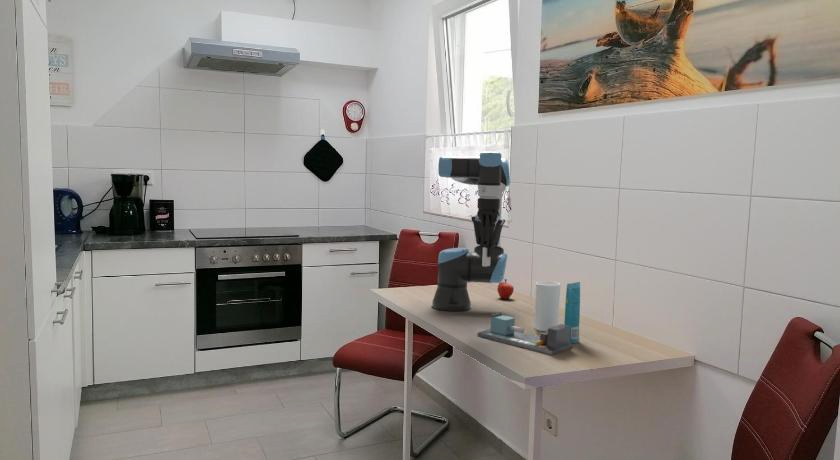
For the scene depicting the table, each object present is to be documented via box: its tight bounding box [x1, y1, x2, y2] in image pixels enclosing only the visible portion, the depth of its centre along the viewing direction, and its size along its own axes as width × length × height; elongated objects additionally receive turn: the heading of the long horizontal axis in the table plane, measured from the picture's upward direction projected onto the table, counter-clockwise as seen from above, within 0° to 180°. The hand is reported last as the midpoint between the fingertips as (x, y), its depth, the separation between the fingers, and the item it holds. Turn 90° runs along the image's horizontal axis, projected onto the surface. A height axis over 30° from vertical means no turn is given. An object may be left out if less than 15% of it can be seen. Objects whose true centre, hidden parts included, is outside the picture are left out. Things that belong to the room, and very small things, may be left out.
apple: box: [496, 278, 515, 300], centre depth 263 cm, size 8×7×10 cm
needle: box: [535, 331, 548, 345], centre depth 191 cm, size 2×7×3 cm, turn 137°
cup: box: [533, 280, 561, 332], centre depth 214 cm, size 8×8×16 cm
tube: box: [563, 281, 581, 344], centre depth 199 cm, size 7×5×19 cm, turn 140°
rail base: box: [477, 323, 573, 356], centre depth 198 cm, size 28×12×7 cm, turn 47°
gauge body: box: [489, 312, 525, 335], centre depth 202 cm, size 11×5×6 cm, turn 47°
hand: (486, 265), depth 213 cm, fingers closed
